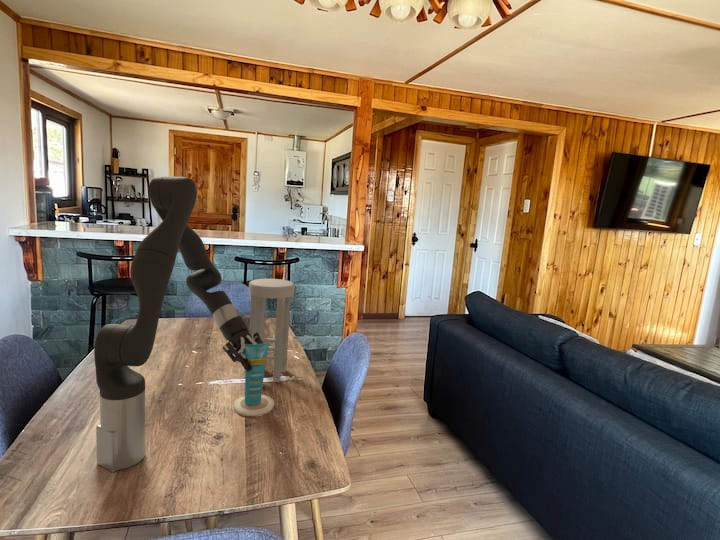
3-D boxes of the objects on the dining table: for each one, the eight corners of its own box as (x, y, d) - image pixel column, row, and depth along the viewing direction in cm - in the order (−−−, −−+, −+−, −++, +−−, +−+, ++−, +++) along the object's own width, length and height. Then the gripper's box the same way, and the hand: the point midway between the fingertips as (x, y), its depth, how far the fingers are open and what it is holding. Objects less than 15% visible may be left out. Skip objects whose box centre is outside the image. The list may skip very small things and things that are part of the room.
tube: (243, 408, 124) (247, 347, 121) (238, 401, 128) (242, 341, 125) (267, 403, 128) (271, 344, 125) (261, 397, 132) (266, 339, 129)
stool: (283, 386, 144) (288, 288, 138) (239, 381, 145) (243, 284, 139) (292, 368, 159) (298, 280, 154) (253, 364, 160) (257, 276, 154)
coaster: (255, 420, 120) (256, 416, 120) (225, 408, 125) (225, 404, 125) (281, 404, 131) (281, 400, 131) (252, 394, 136) (252, 390, 136)
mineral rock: (224, 338, 187) (224, 317, 185) (225, 330, 197) (226, 310, 195) (253, 338, 190) (254, 317, 188) (253, 331, 200) (254, 311, 199)
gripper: (219, 320, 121) (248, 368, 118) (252, 310, 134) (279, 354, 130) (205, 333, 124) (233, 381, 121) (239, 323, 137) (265, 365, 134)
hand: (257, 366), depth 126 cm, fingers open, 5 cm apart
